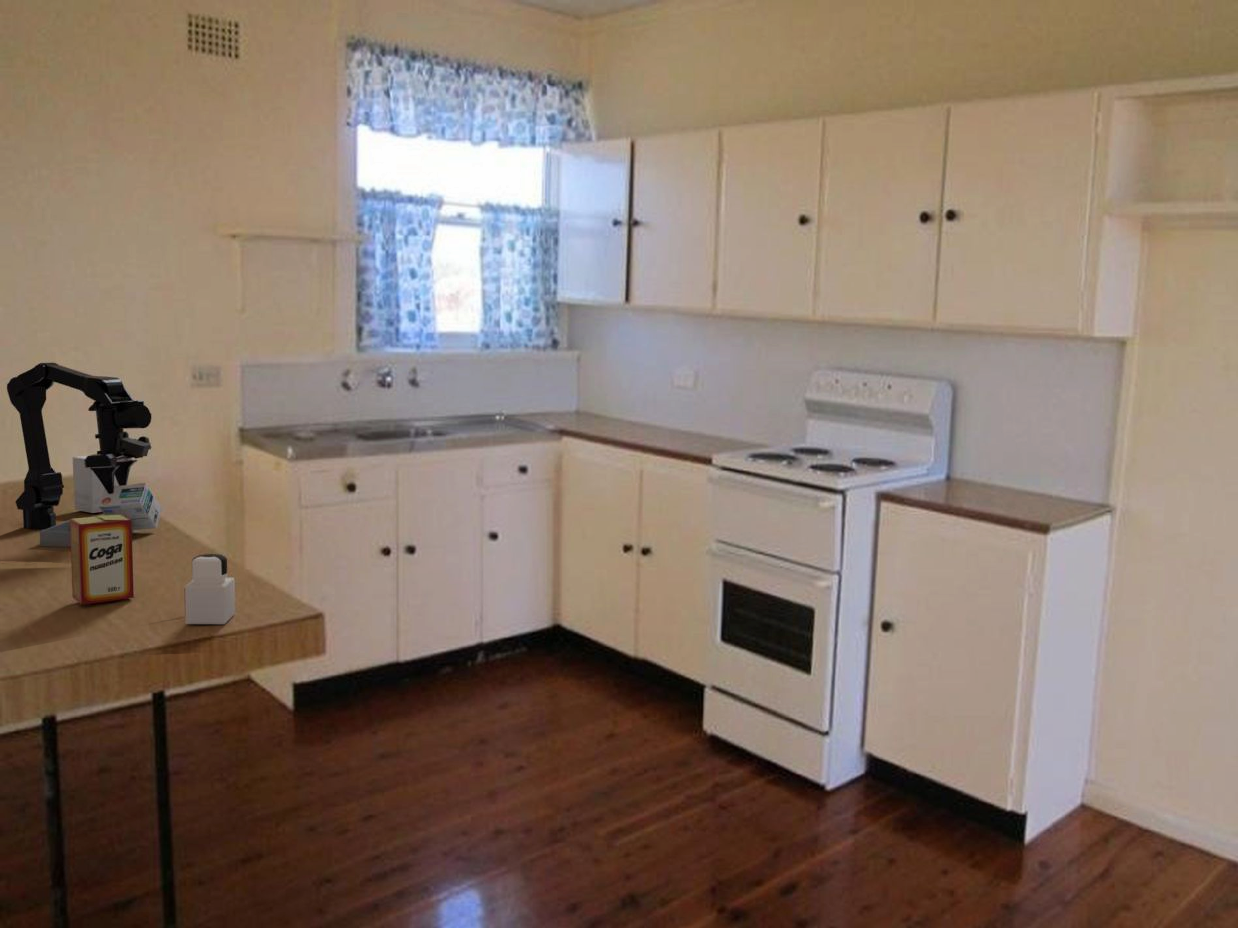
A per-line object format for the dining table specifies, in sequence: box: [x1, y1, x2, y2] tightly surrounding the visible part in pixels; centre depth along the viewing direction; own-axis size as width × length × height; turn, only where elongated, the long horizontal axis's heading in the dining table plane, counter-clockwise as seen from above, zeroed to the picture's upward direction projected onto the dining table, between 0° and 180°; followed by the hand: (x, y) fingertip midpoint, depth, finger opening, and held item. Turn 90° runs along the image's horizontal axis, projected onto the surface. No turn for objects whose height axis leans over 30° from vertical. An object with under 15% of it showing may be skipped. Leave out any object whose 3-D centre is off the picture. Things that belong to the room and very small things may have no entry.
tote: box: [39, 519, 134, 548], centre depth 262 cm, size 15×15×4 cm
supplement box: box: [72, 454, 119, 514], centre depth 300 cm, size 9×9×15 cm
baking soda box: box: [69, 514, 134, 606], centre depth 211 cm, size 10×6×16 cm
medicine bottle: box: [184, 553, 236, 625], centre depth 199 cm, size 7×7×12 cm
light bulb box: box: [99, 482, 163, 531], centre depth 271 cm, size 11×7×11 cm
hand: (117, 491), depth 267 cm, fingers open, 7 cm apart
